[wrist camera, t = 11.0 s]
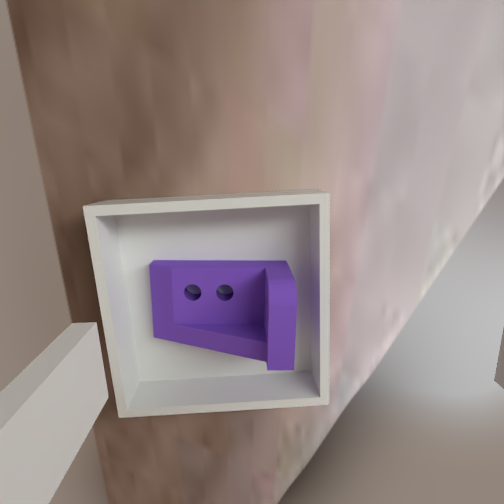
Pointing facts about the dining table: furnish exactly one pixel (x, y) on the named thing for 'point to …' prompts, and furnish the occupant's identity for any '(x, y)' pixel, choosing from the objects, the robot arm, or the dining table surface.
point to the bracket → (228, 307)
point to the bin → (200, 248)
